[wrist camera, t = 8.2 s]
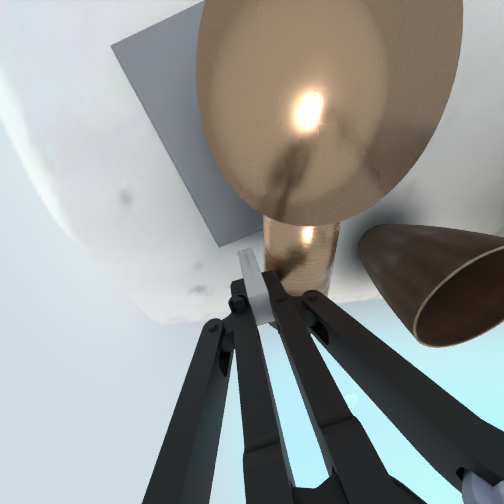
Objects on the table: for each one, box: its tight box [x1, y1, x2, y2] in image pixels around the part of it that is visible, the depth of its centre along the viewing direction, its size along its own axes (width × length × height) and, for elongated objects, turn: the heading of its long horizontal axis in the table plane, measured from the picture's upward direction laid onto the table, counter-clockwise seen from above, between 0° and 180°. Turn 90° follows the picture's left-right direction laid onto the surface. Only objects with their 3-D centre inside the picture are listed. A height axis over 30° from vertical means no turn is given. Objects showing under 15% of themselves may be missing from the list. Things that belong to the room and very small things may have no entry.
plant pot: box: [358, 224, 504, 348], centre depth 29 cm, size 15×15×16 cm
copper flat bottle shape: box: [196, 0, 463, 334], centre depth 15 cm, size 23×13×7 cm, turn 2°
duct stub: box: [111, 0, 263, 247], centre depth 21 cm, size 28×24×11 cm
